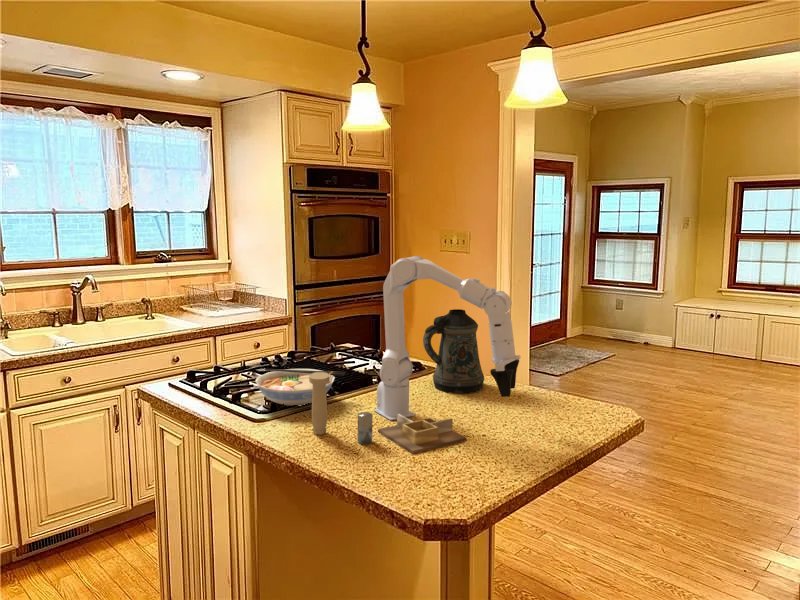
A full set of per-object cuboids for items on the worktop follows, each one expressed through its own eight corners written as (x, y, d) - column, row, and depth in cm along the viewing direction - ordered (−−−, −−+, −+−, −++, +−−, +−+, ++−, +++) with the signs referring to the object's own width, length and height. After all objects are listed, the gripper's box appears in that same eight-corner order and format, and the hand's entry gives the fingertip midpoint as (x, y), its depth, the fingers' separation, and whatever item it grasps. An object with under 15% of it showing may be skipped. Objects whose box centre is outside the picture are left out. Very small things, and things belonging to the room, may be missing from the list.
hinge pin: (354, 441, 146) (355, 413, 145) (367, 438, 148) (367, 411, 147) (362, 446, 143) (362, 418, 142) (375, 443, 145) (375, 415, 144)
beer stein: (494, 386, 193) (496, 310, 189) (457, 400, 179) (459, 318, 175) (453, 376, 204) (455, 304, 200) (415, 388, 190) (417, 311, 186)
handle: (330, 428, 154) (330, 372, 152) (327, 437, 148) (327, 379, 146) (311, 428, 154) (311, 372, 152) (308, 437, 148) (307, 379, 146)
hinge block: (377, 432, 152) (378, 417, 152) (429, 421, 161) (429, 407, 160) (412, 454, 139) (412, 438, 138) (466, 440, 147) (467, 426, 147)
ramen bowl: (237, 412, 166) (237, 383, 165) (272, 388, 188) (272, 363, 187) (323, 420, 160) (322, 390, 159) (348, 394, 182) (348, 368, 181)
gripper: (513, 344, 143) (519, 399, 144) (522, 333, 156) (527, 384, 157) (484, 346, 145) (491, 400, 146) (495, 335, 159) (501, 385, 160)
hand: (508, 392), depth 152 cm, fingers open, 7 cm apart
